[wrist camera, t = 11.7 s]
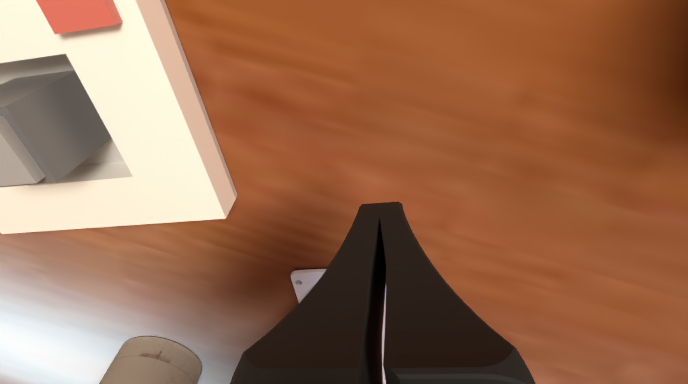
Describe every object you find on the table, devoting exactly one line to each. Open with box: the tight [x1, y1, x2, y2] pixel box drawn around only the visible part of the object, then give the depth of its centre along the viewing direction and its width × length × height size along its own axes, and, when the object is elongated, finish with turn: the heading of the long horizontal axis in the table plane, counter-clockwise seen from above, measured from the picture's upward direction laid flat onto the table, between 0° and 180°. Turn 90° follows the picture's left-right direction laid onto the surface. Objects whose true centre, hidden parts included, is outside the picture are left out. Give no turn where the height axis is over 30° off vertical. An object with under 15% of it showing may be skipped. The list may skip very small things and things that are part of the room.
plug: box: [0, 70, 112, 187], centre depth 20 cm, size 4×4×6 cm
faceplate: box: [0, 0, 238, 234], centre depth 21 cm, size 14×16×3 cm
